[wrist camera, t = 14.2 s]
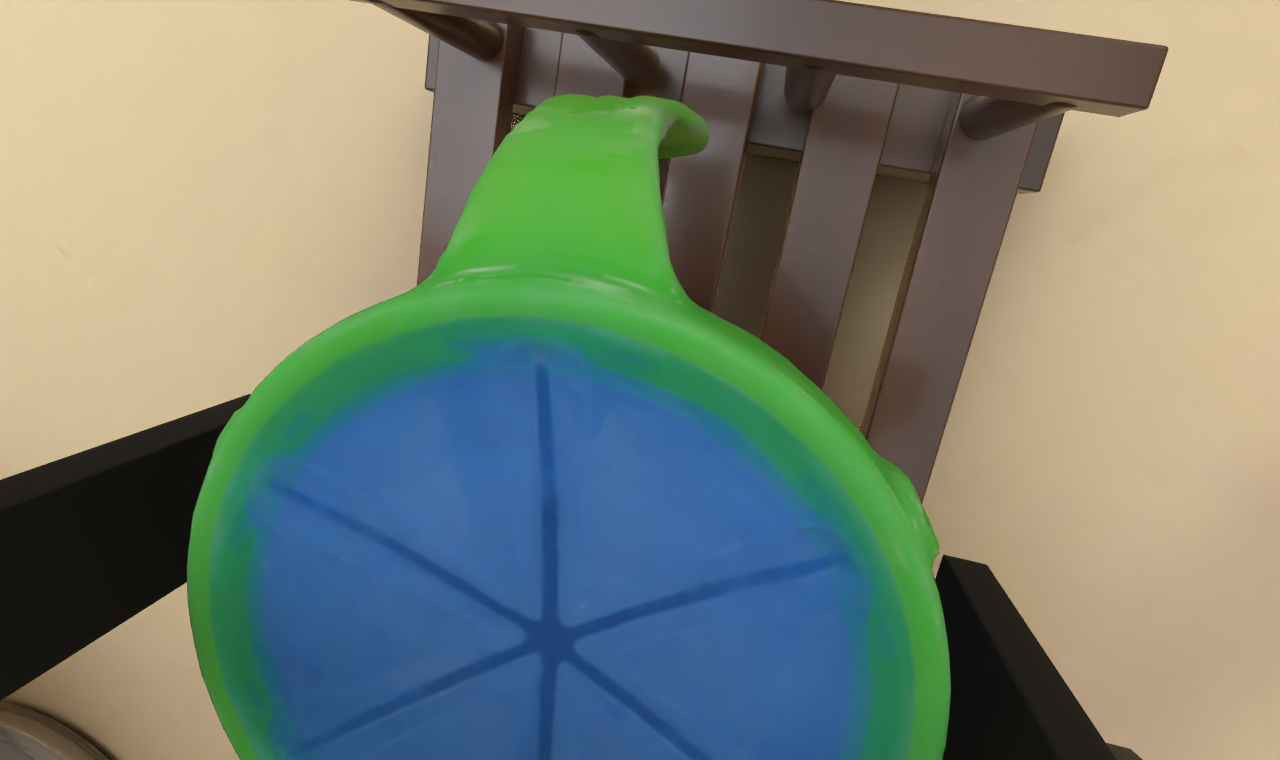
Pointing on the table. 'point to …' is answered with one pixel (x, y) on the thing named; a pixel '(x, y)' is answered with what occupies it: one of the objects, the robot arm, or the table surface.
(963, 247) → the dish rack
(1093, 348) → the table surface
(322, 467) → the snack cup
